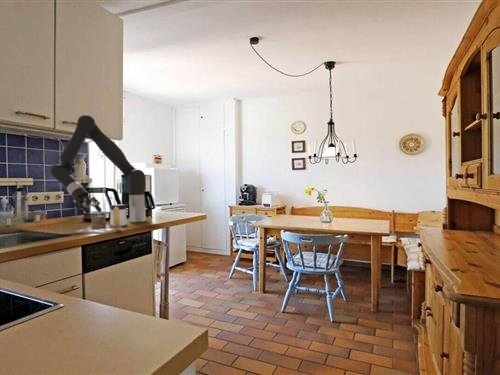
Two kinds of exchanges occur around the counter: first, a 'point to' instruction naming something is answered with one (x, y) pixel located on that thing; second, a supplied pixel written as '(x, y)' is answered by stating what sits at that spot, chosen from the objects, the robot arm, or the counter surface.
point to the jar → (121, 214)
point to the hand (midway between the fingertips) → (94, 211)
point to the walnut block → (98, 222)
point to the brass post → (116, 219)
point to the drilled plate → (95, 231)
